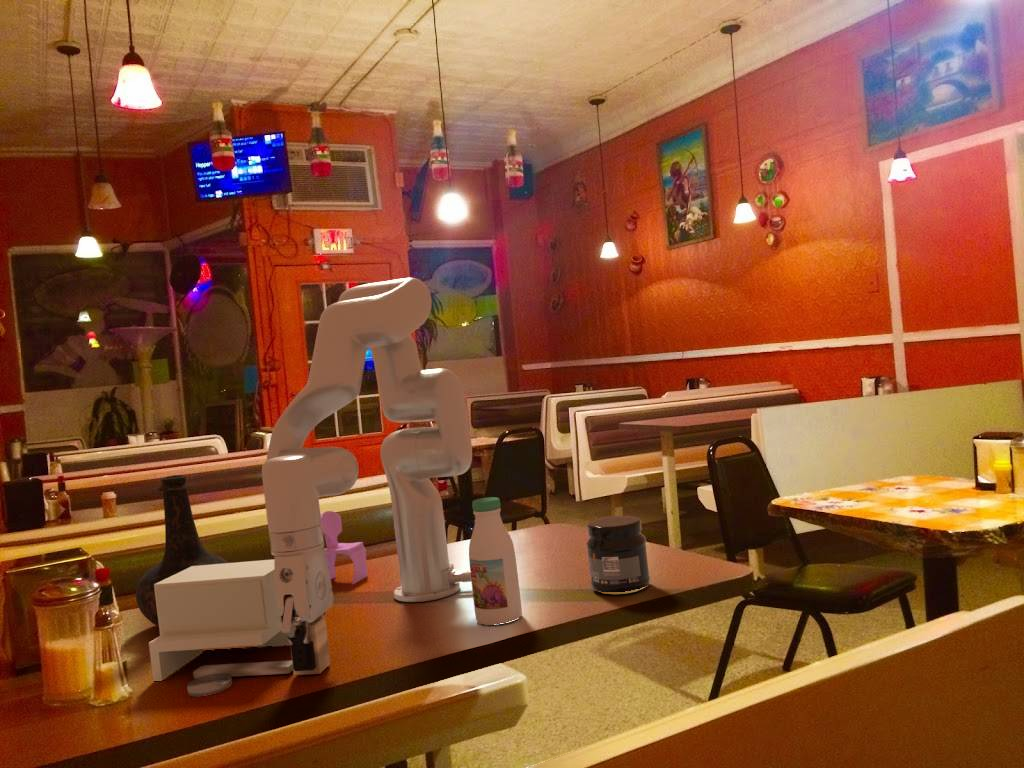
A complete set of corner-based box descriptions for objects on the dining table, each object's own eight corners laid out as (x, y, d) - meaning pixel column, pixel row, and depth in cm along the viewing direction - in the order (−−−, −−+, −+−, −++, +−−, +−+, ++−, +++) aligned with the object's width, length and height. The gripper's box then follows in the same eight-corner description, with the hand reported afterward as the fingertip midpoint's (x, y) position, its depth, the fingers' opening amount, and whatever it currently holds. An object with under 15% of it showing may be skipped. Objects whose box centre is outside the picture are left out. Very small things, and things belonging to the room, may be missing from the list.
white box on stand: (303, 641, 132) (293, 557, 132) (266, 675, 118) (254, 581, 118) (201, 648, 134) (192, 566, 134) (153, 682, 121) (142, 590, 120)
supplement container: (635, 576, 149) (628, 512, 149) (661, 589, 139) (653, 521, 139) (582, 586, 146) (575, 521, 146) (604, 601, 136) (597, 530, 136)
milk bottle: (500, 609, 138) (487, 494, 137) (532, 615, 132) (518, 495, 132) (466, 622, 132) (452, 502, 132) (498, 629, 127) (484, 504, 127)
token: (239, 679, 118) (238, 671, 118) (221, 696, 112) (220, 687, 112) (200, 682, 118) (199, 674, 118) (180, 699, 112) (179, 691, 112)
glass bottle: (229, 602, 164) (212, 466, 164) (251, 619, 149) (234, 470, 149) (134, 625, 155) (116, 481, 154) (148, 646, 139) (128, 486, 139)
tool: (330, 663, 119) (325, 616, 119) (320, 673, 115) (314, 625, 115) (205, 670, 122) (199, 624, 122) (191, 680, 118) (185, 633, 118)
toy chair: (353, 585, 166) (344, 514, 166) (316, 586, 169) (308, 516, 169) (372, 574, 174) (364, 506, 174) (336, 575, 177) (328, 508, 177)
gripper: (297, 551, 108) (313, 685, 109) (341, 525, 125) (355, 642, 125) (245, 556, 109) (261, 688, 110) (295, 529, 126) (309, 645, 126)
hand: (311, 662), depth 117 cm, fingers closed on tool, 4 cm apart
